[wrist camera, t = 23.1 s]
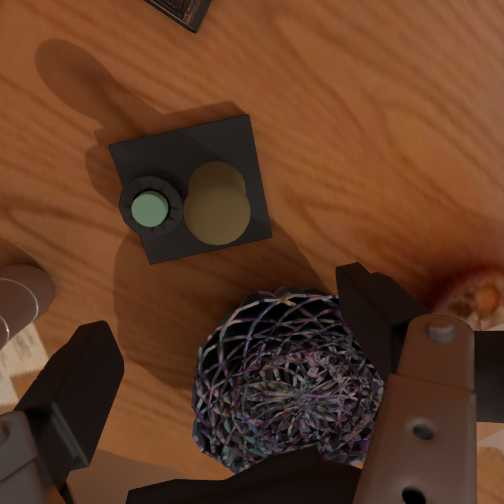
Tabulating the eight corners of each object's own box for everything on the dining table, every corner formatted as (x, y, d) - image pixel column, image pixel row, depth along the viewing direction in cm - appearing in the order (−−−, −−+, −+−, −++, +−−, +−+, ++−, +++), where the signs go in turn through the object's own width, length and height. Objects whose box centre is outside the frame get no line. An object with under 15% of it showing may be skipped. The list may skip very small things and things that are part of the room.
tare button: (141, 225, 34) (137, 230, 32) (130, 194, 32) (126, 198, 31) (172, 218, 34) (169, 223, 32) (162, 187, 32) (160, 190, 31)
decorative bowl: (212, 431, 50) (213, 503, 42) (165, 279, 38) (151, 334, 29) (374, 398, 51) (408, 462, 42) (377, 239, 39) (426, 282, 30)
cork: (175, 183, 34) (157, 207, 23) (223, 148, 33) (227, 158, 23) (210, 229, 36) (208, 270, 25) (256, 197, 35) (273, 226, 25)
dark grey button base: (147, 261, 38) (142, 272, 35) (106, 145, 33) (96, 147, 30) (270, 233, 38) (275, 241, 35) (247, 114, 33) (250, 113, 30)
